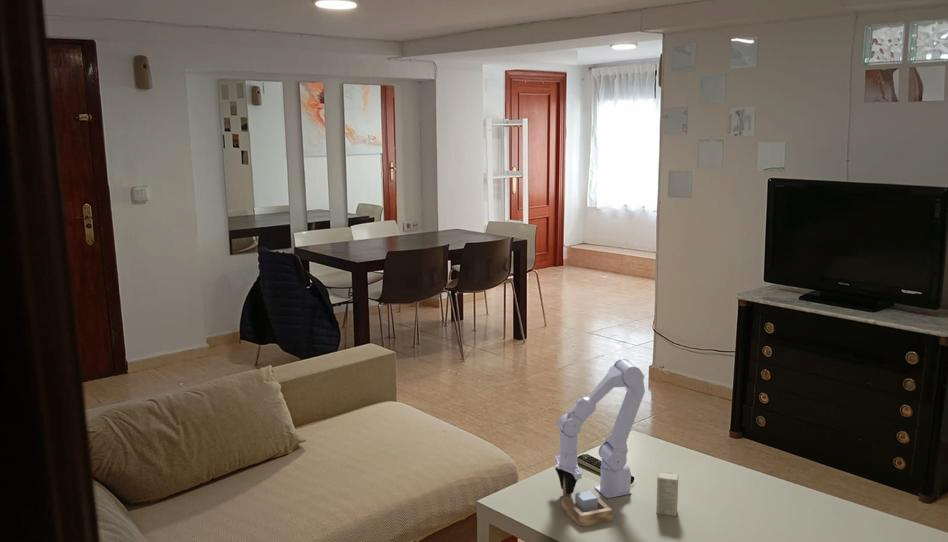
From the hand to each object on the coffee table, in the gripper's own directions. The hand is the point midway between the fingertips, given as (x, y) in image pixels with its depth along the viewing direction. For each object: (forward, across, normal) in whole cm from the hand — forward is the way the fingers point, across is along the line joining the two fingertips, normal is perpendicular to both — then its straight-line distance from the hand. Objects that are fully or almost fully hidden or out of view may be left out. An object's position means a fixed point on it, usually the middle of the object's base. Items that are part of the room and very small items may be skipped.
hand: (567, 490), depth 248 cm
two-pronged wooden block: (+2, +12, 0) cm, 12 cm away
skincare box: (+2, +20, +24) cm, 32 cm away
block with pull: (+2, +7, 0) cm, 7 cm away
